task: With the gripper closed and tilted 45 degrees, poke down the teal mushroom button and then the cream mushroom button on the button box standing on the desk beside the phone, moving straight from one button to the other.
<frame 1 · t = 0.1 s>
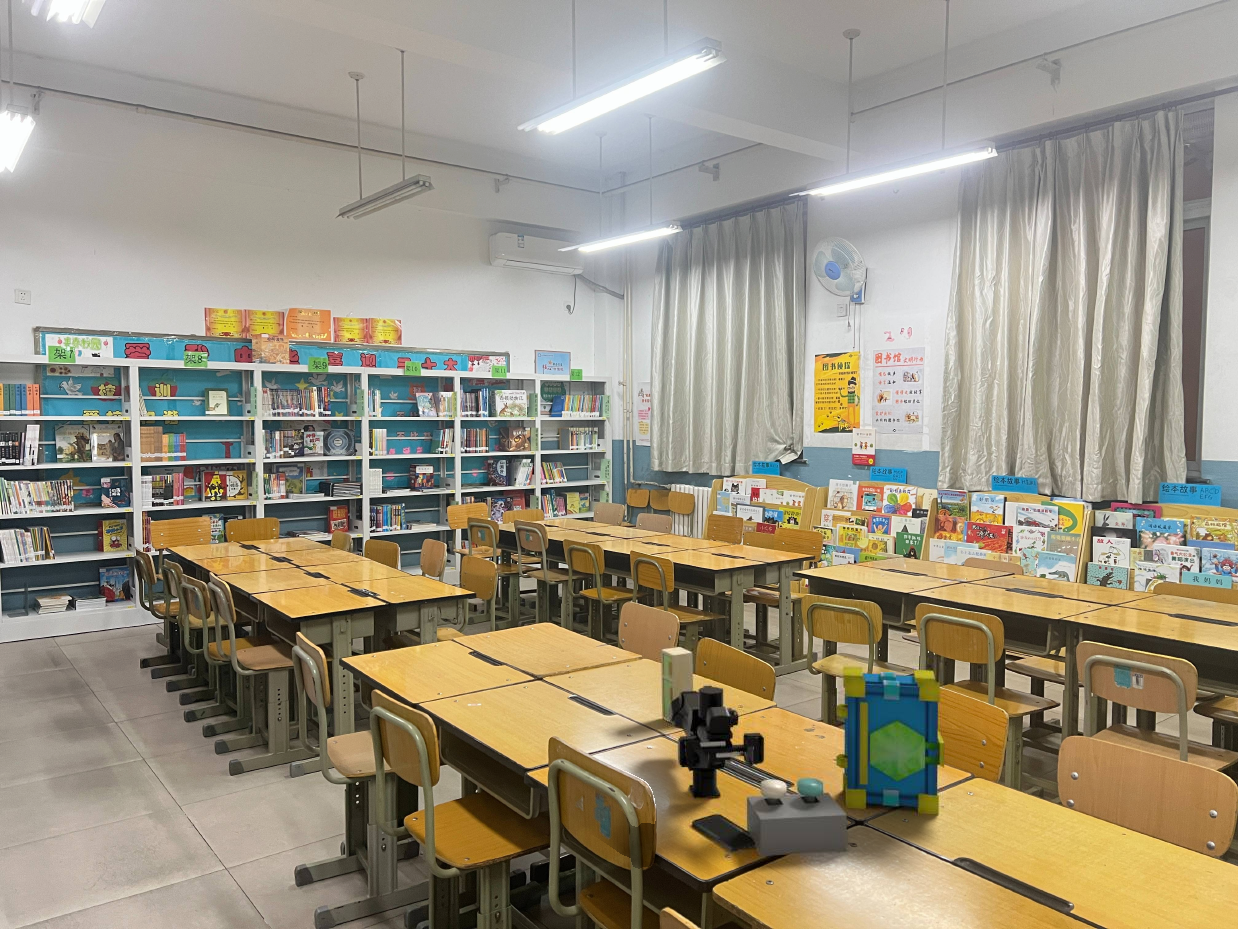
hand: (730, 764, 180), 17 cm above the table, tool horizontal, fingers open, 9 cm apart
cream button: (773, 796, 183), point 9 cm above the table, slide at 0.0 cm
teal button: (810, 794, 184), point 9 cm above the table, slide at 0.0 cm
phone: (725, 836, 184), on the table
decorative book: (887, 802, 200), on the table
button box: (795, 840, 181), on the table
toy refrigerator: (676, 721, 256), on the table
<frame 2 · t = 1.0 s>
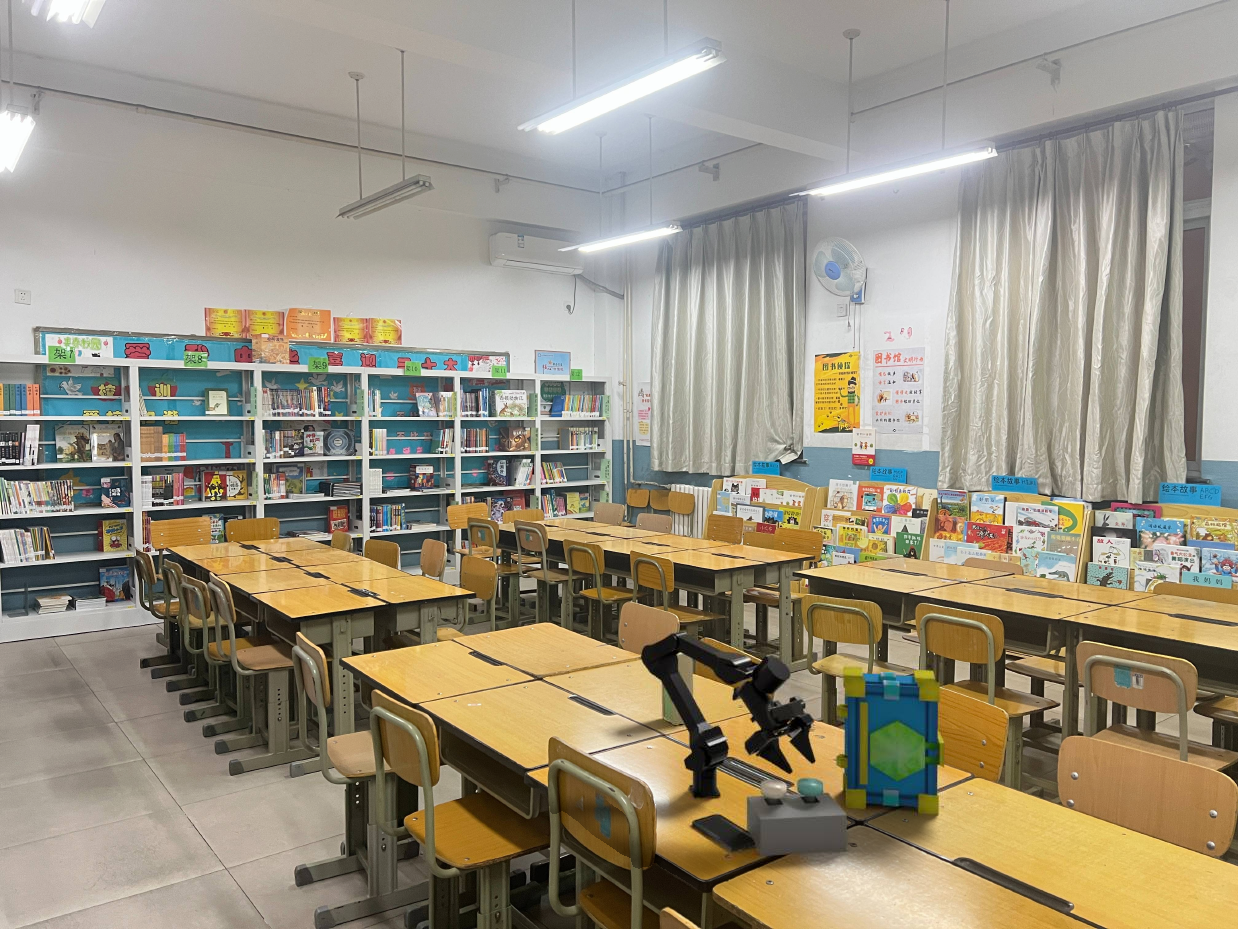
hand: (802, 767, 184), 14 cm above the table, tool tilted 45°, fingers open, 8 cm apart
nothing on the table moved.
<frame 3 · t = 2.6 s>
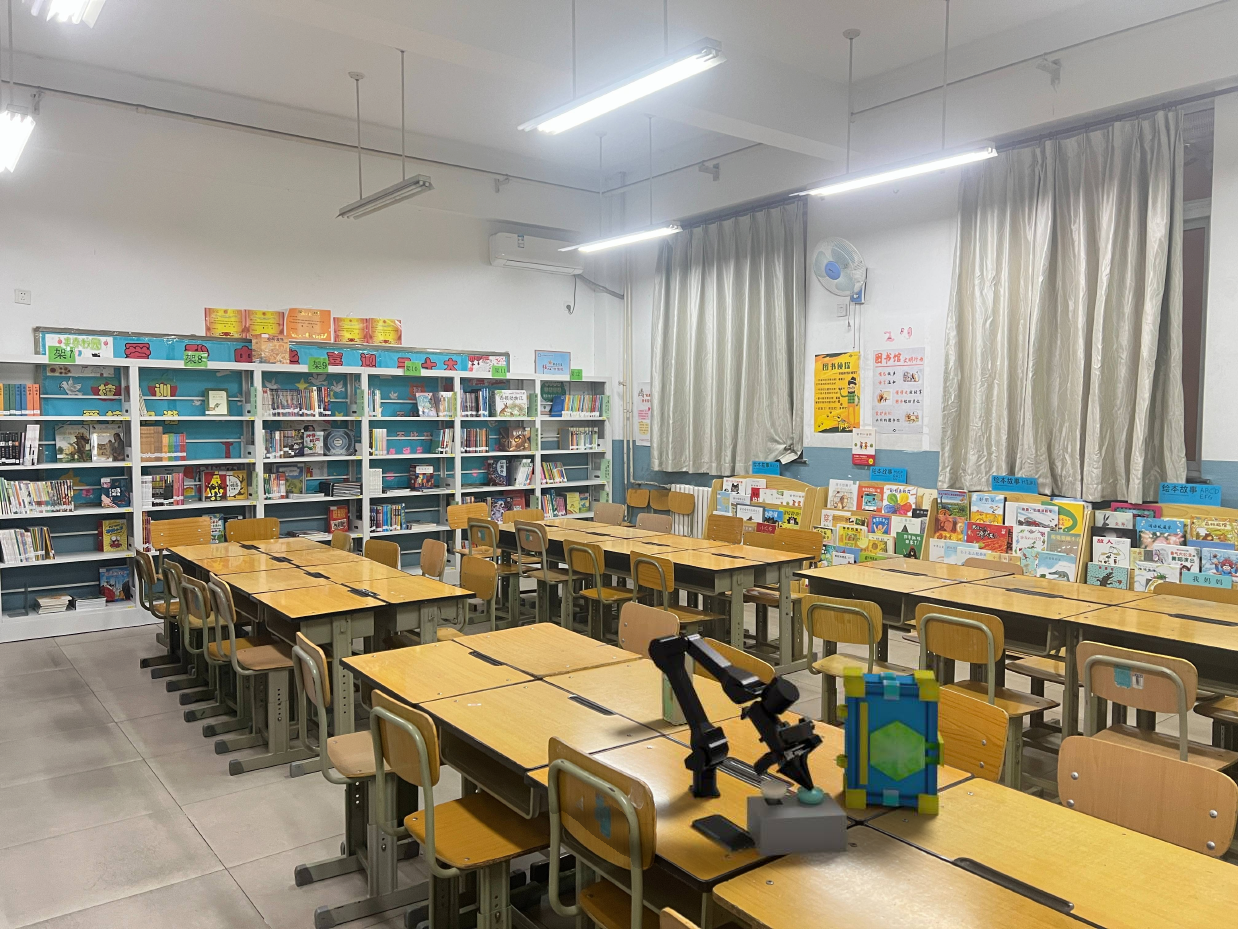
hand: (811, 789, 183), 10 cm above the table, tool tilted 45°, fingers closed, pressing on teal button
teal button: (810, 801, 184), point 7 cm above the table, slide at 1.6 cm, touching gripper
everything else where it was.
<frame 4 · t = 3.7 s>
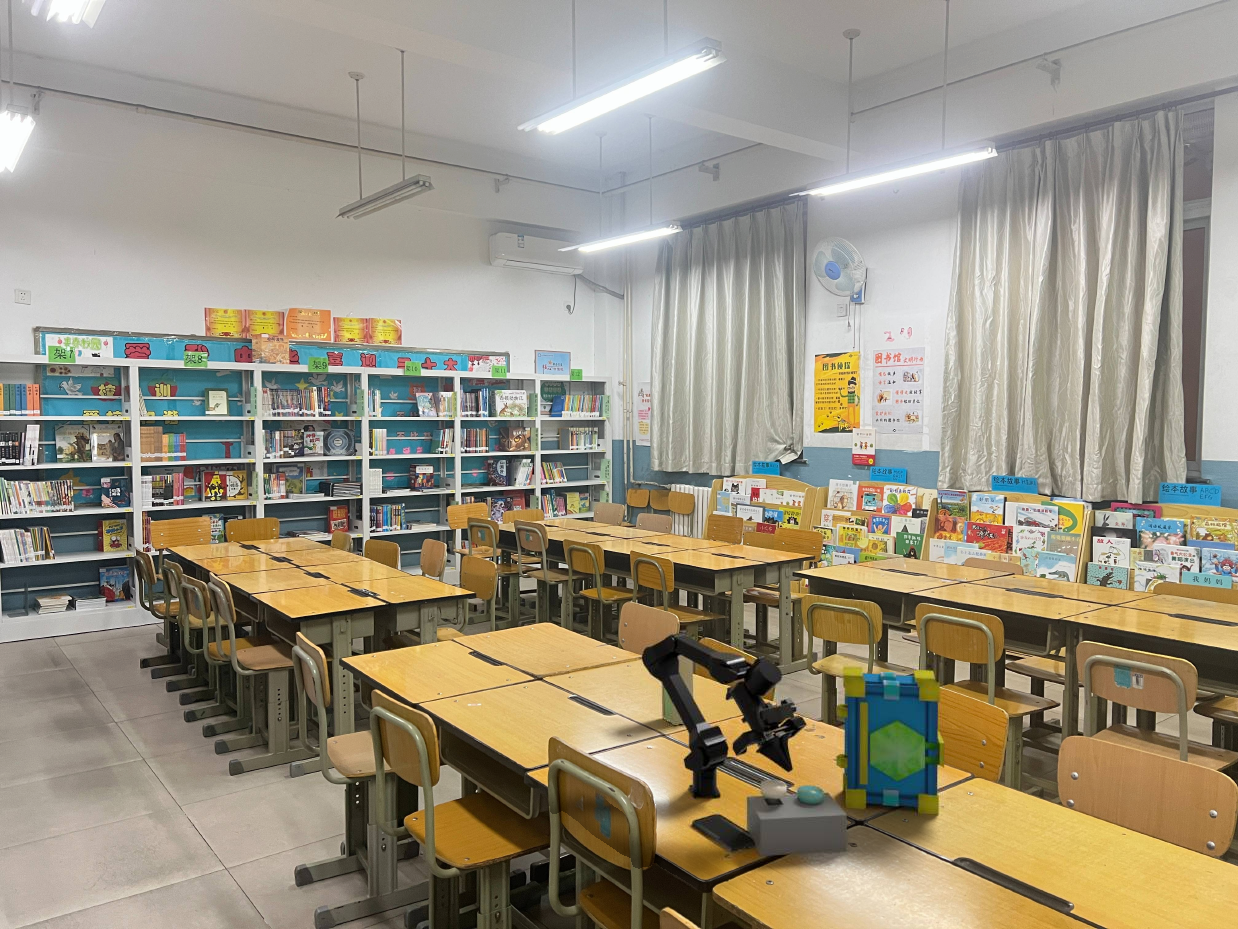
hand: (790, 771, 184), 13 cm above the table, tool tilted 45°, fingers closed
teal button: (810, 801, 184), point 7 cm above the table, slide at 1.6 cm
everything else where it was.
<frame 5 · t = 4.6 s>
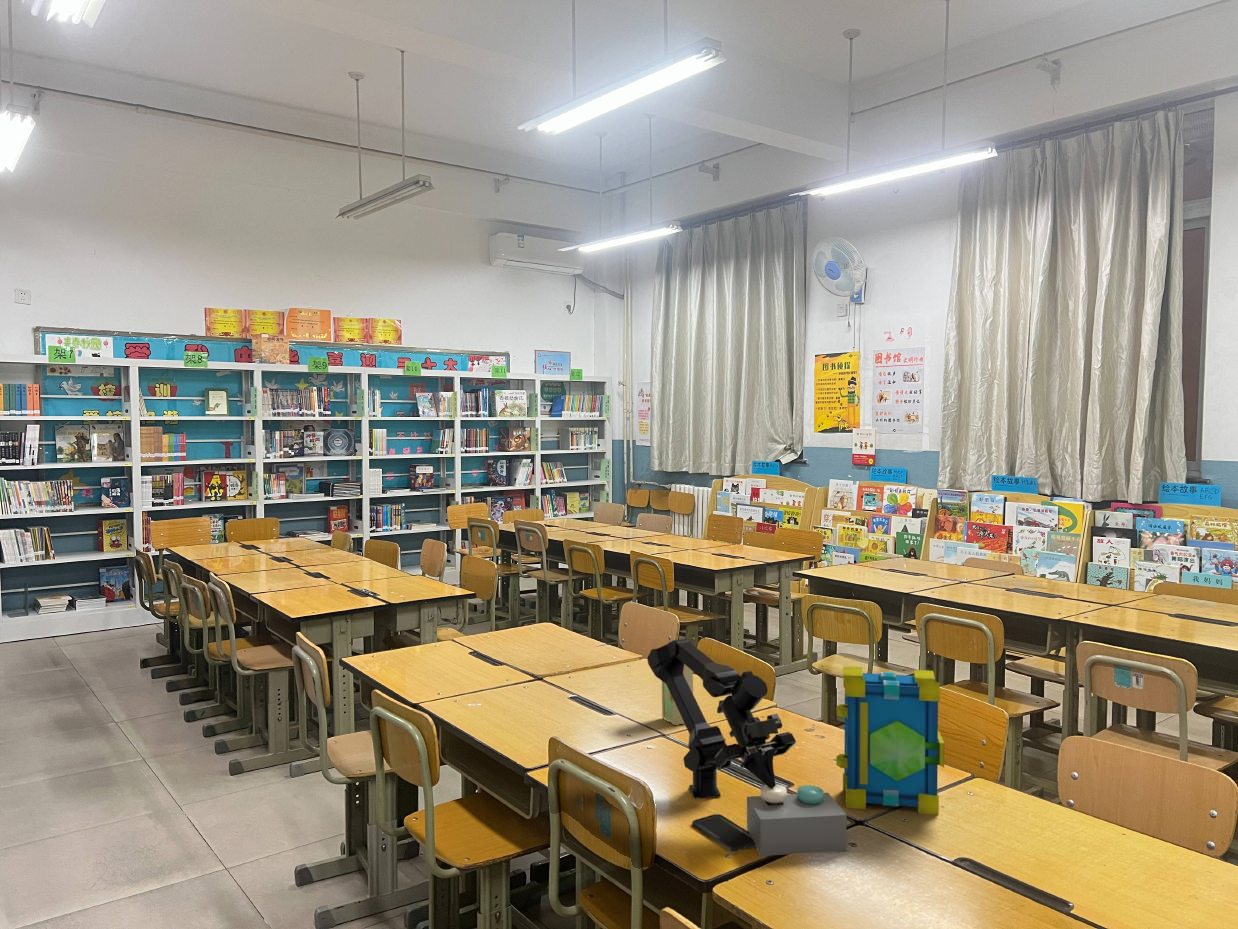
hand: (773, 787, 183), 11 cm above the table, tool tilted 45°, fingers closed, pressing on cream button
cream button: (773, 800, 183), point 8 cm above the table, slide at 0.9 cm, touching gripper
everything else where it was.
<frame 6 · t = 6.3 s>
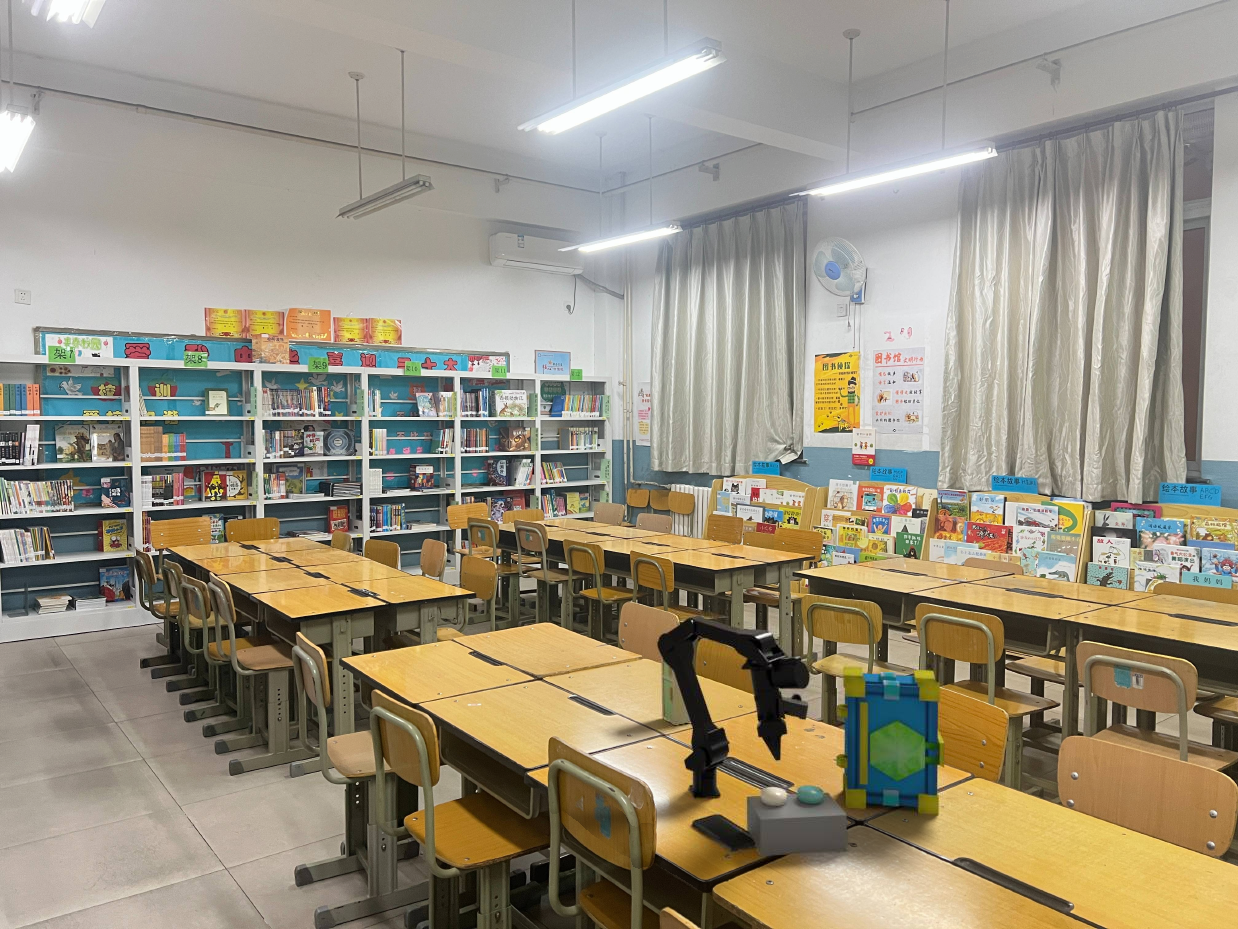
hand: (778, 760, 190), 13 cm above the table, tool pointing down, fingers closed
cream button: (773, 803, 183), point 7 cm above the table, slide at 1.6 cm
everything else where it was.
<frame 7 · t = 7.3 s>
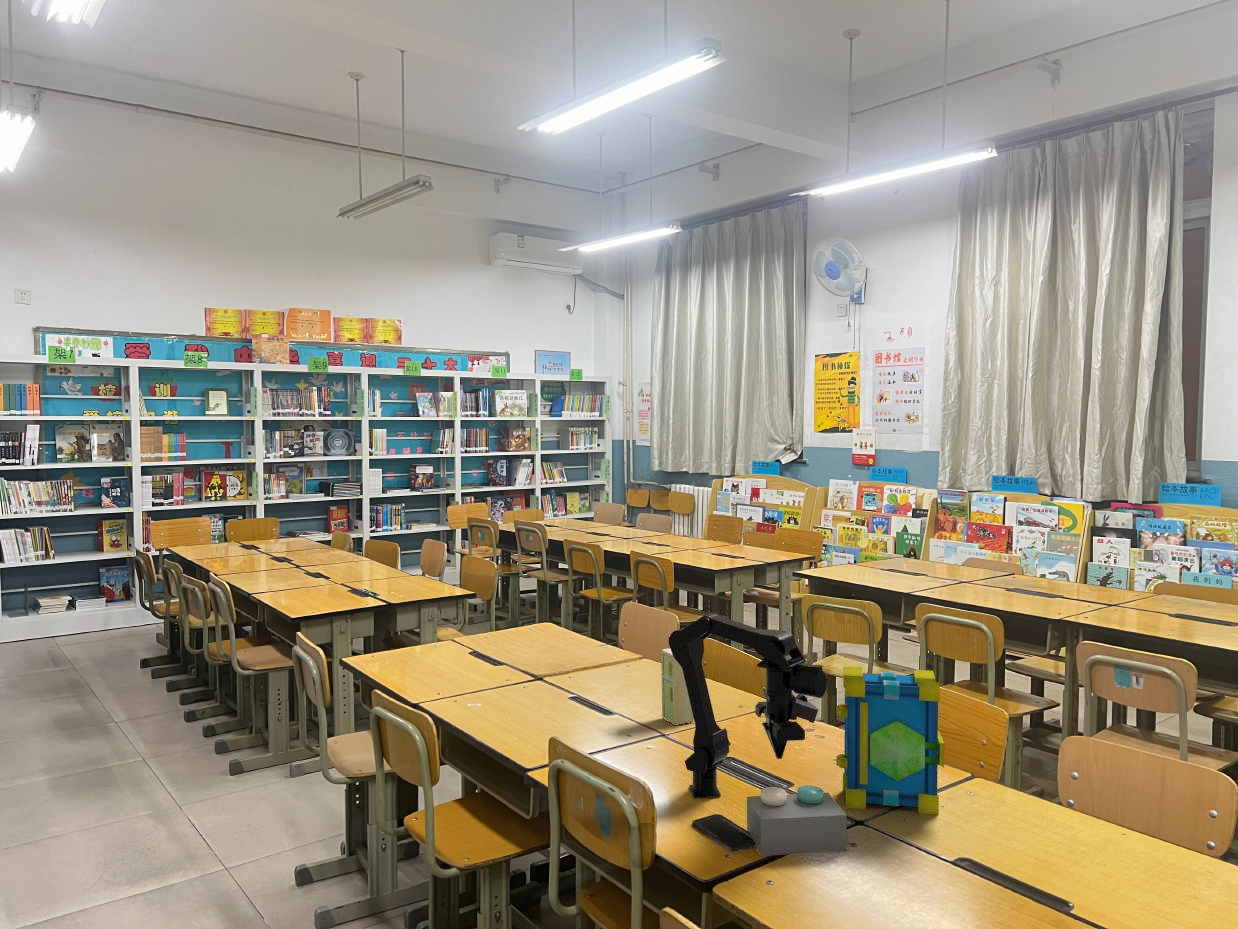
hand: (779, 758, 193), 13 cm above the table, tool pointing down, fingers closed
nothing on the table moved.
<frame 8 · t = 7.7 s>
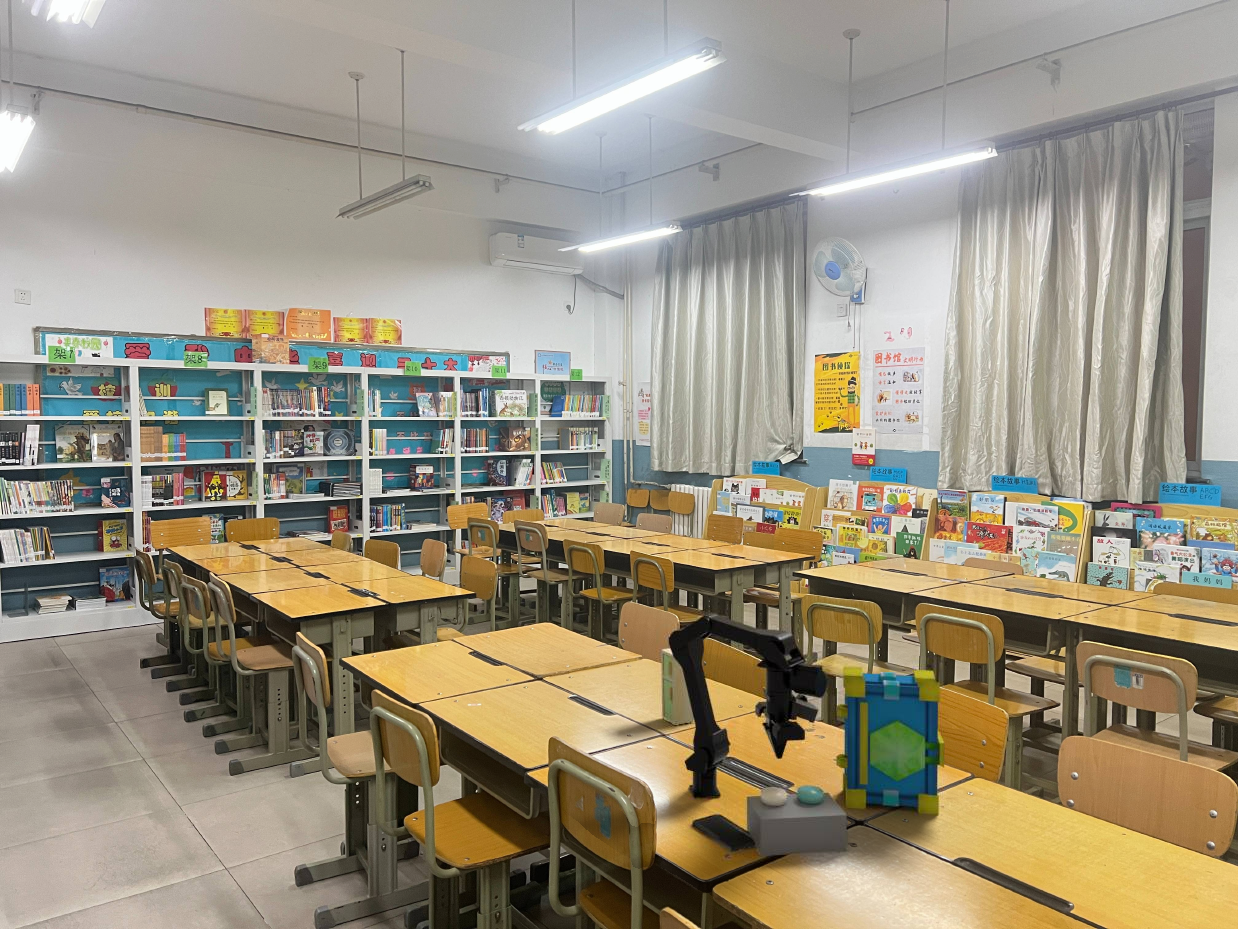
hand: (779, 758, 193), 13 cm above the table, tool pointing down, fingers closed
nothing on the table moved.
at the end: teal button slide at 1.6 cm; cream button slide at 1.6 cm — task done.
